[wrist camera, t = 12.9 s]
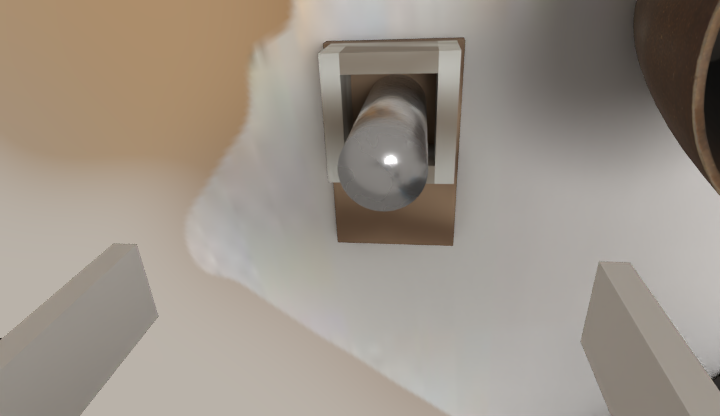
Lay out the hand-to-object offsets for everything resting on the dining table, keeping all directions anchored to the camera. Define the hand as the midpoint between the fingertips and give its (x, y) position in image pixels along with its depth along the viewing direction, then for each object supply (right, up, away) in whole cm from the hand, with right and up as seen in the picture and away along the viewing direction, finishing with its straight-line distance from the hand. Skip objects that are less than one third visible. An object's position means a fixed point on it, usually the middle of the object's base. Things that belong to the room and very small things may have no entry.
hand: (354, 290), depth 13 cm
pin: (+3, +9, +18) cm, 20 cm away
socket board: (+3, +7, +20) cm, 22 cm away
